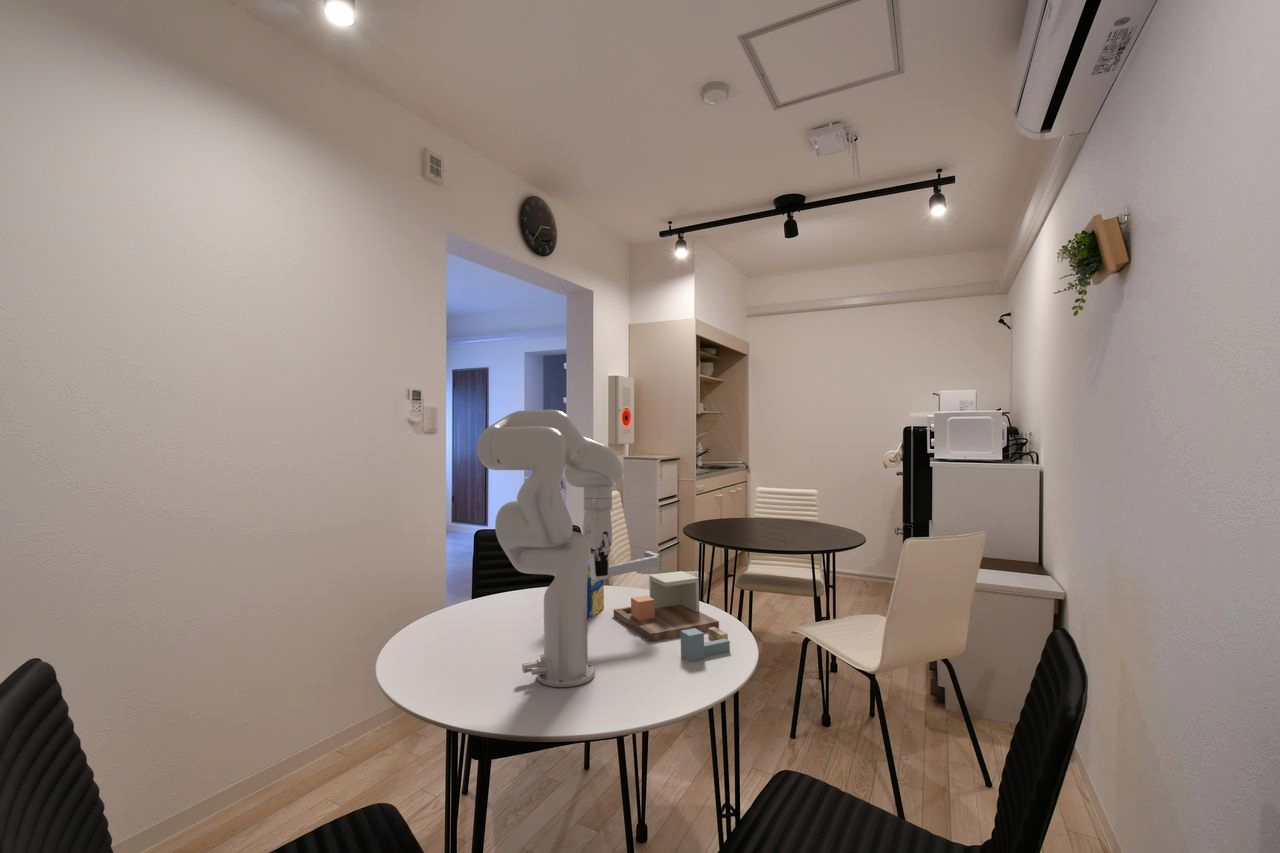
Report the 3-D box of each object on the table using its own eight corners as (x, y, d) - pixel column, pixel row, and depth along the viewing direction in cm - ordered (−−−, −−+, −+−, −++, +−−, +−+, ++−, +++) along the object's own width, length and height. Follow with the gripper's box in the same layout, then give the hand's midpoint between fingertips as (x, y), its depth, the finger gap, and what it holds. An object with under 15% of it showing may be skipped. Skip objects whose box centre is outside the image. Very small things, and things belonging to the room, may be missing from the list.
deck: (650, 641, 143) (650, 633, 143) (613, 616, 165) (613, 609, 165) (719, 628, 152) (718, 621, 152) (675, 606, 174) (675, 599, 174)
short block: (727, 643, 142) (727, 633, 142) (721, 644, 141) (721, 634, 141) (714, 636, 147) (714, 626, 147) (708, 637, 146) (708, 628, 146)
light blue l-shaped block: (689, 661, 130) (689, 635, 130) (680, 656, 133) (680, 630, 133) (732, 652, 135) (731, 627, 135) (722, 647, 138) (722, 623, 139)
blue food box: (604, 608, 172) (603, 537, 173) (588, 619, 162) (587, 543, 163) (584, 606, 175) (583, 536, 175) (567, 617, 164) (566, 542, 165)
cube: (638, 620, 154) (638, 602, 154) (631, 615, 159) (630, 597, 159) (654, 617, 156) (654, 599, 157) (646, 612, 161) (646, 595, 161)
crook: (596, 581, 145) (593, 554, 145) (582, 573, 154) (580, 548, 154) (665, 565, 154) (663, 540, 154) (649, 559, 163) (646, 535, 163)
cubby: (666, 617, 156) (665, 582, 157) (649, 608, 165) (649, 575, 166) (699, 611, 161) (698, 577, 162) (681, 603, 170) (681, 571, 171)
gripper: (574, 502, 154) (574, 569, 153) (596, 507, 139) (596, 582, 138) (599, 501, 157) (599, 566, 156) (623, 506, 142) (624, 578, 141)
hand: (598, 573), depth 147 cm, fingers closed on crook, 4 cm apart
